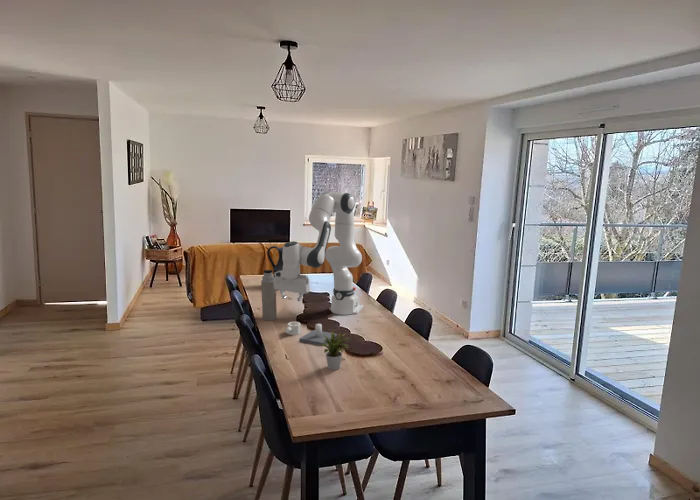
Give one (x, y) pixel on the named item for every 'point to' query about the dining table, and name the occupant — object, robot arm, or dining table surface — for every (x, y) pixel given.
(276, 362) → the dining table surface
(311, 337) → the duct plate
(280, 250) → the pitcher
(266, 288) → the thermos bottle
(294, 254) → the robot arm
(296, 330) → the collar
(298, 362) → the dining table surface
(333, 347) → the house plant
